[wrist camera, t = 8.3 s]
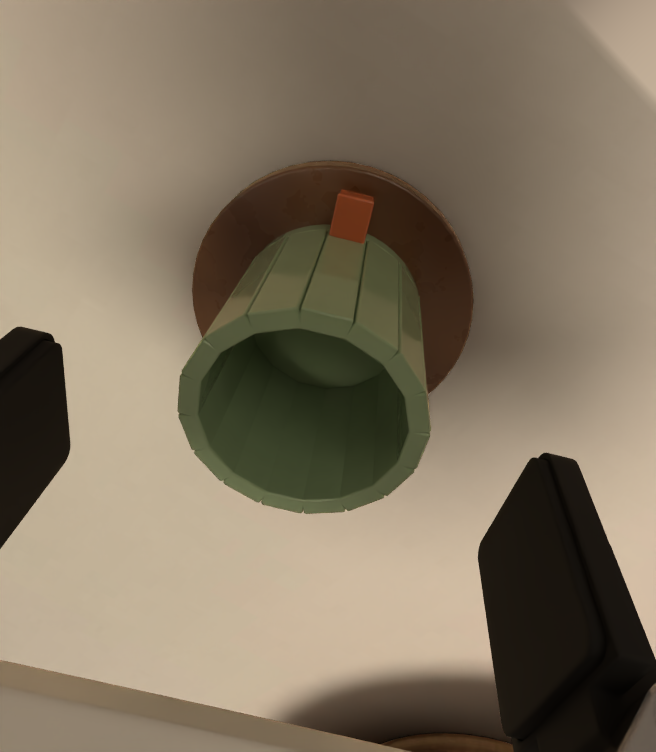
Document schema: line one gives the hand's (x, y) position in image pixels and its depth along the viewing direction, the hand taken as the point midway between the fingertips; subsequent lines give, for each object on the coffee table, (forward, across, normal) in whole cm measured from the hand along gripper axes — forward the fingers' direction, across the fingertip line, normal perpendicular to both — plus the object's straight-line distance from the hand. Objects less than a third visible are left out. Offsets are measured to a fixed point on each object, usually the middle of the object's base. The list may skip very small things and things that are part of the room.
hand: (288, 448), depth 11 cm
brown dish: (+8, 0, +1) cm, 8 cm away
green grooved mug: (+8, 0, +1) cm, 8 cm away
